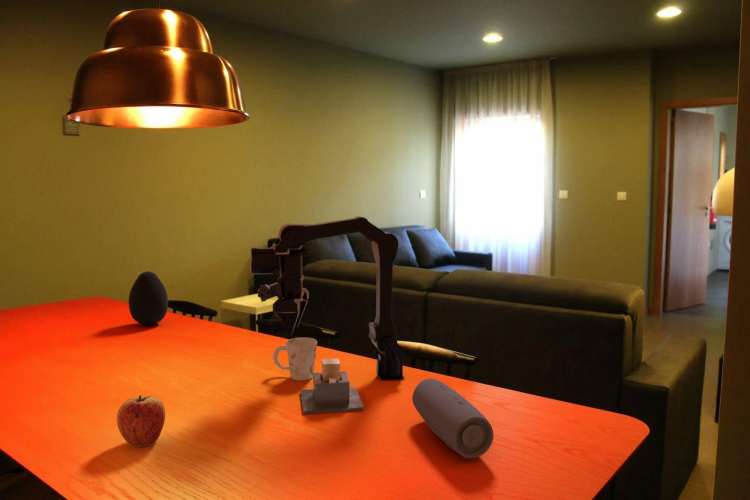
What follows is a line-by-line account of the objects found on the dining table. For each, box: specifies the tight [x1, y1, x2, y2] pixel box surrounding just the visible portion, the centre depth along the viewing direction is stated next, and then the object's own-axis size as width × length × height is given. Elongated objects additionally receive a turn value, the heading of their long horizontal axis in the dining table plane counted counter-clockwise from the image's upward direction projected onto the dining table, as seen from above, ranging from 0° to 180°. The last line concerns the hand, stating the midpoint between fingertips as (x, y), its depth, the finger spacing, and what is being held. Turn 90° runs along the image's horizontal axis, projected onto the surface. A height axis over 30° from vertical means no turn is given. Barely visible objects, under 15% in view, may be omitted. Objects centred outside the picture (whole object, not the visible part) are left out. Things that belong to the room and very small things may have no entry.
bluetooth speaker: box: [411, 378, 494, 459], centre depth 121 cm, size 23×9×10 cm, turn 17°
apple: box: [116, 395, 166, 447], centre depth 118 cm, size 9×9×10 cm
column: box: [321, 358, 341, 381], centre depth 142 cm, size 4×4×9 cm
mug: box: [272, 337, 318, 382], centre depth 160 cm, size 8×13×10 cm, turn 78°
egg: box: [128, 271, 169, 326], centre depth 217 cm, size 14×14×20 cm
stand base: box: [300, 371, 365, 415], centre depth 142 cm, size 14×14×7 cm
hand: (292, 332), depth 153 cm, fingers open, 9 cm apart
